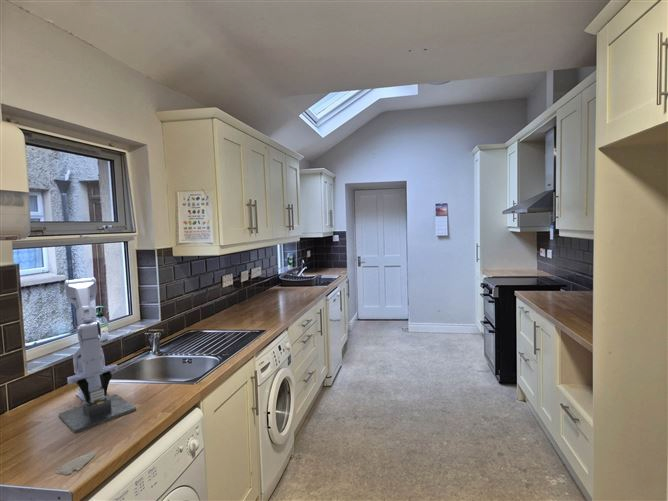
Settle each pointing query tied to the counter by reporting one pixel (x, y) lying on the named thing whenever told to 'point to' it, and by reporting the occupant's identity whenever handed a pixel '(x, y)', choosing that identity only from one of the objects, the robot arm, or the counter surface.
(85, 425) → the stand base
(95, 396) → the column
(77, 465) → the arrowhead
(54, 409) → the counter surface
